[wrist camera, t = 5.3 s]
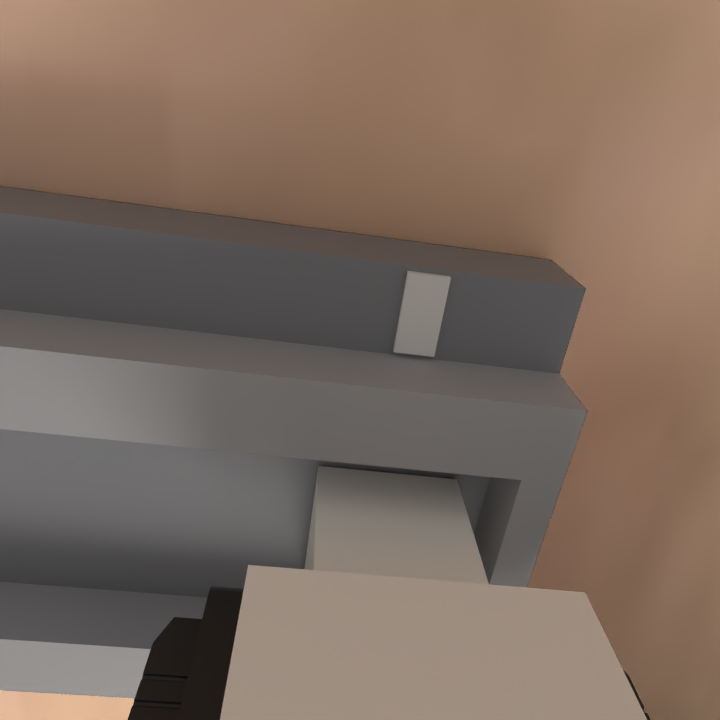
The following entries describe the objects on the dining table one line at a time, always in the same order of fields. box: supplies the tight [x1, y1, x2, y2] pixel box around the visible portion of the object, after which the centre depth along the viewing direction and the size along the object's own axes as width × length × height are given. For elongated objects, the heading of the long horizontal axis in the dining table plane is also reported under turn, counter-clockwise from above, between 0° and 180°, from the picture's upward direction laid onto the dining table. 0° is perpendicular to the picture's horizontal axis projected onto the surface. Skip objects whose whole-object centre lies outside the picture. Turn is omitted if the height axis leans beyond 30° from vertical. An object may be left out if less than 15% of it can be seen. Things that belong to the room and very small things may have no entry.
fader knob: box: [220, 466, 647, 720], centre depth 10 cm, size 5×5×7 cm
